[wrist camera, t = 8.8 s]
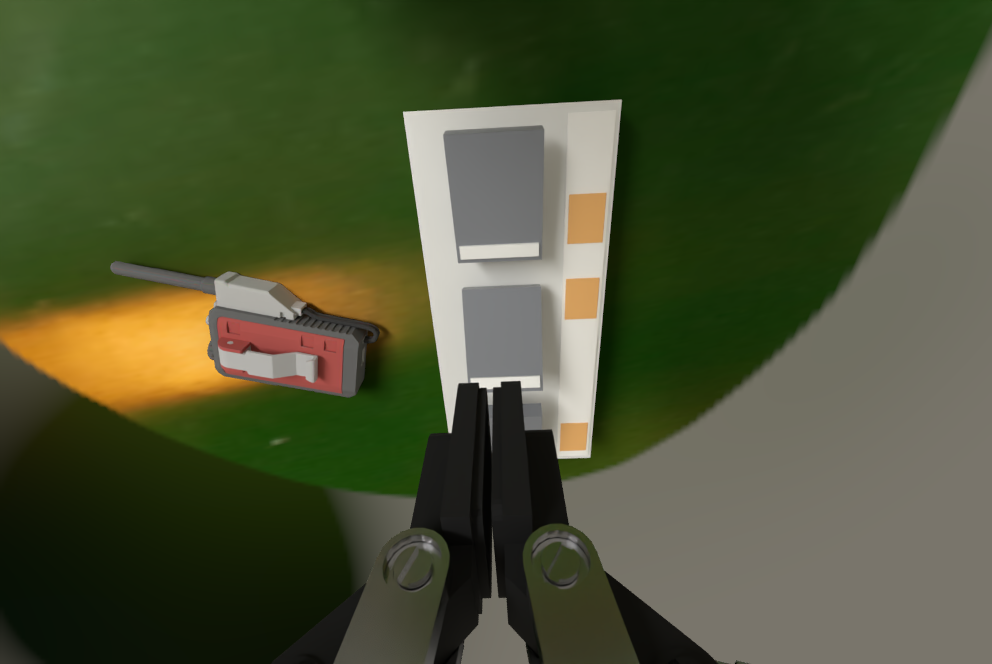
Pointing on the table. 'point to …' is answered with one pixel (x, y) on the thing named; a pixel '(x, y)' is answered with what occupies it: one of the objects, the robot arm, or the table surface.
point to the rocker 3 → (525, 417)
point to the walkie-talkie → (273, 333)
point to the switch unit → (561, 273)
